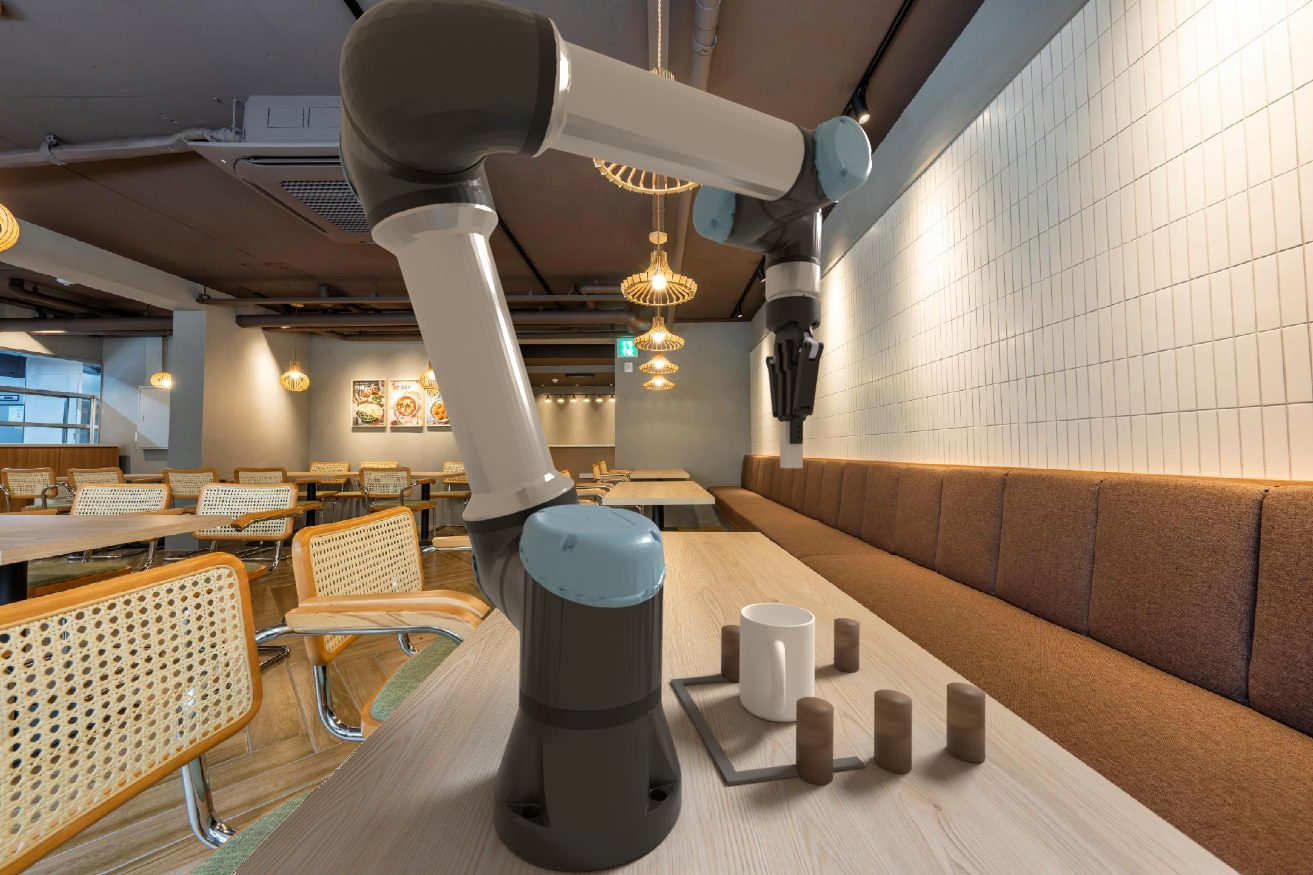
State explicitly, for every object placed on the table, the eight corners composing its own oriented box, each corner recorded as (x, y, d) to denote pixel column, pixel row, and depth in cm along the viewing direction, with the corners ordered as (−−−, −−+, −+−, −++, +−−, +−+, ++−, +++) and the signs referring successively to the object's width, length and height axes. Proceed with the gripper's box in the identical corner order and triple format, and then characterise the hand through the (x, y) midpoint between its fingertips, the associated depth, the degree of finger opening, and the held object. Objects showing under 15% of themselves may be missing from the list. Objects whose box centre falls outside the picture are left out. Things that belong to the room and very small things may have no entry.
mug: (820, 749, 51) (821, 642, 51) (734, 737, 52) (735, 634, 52) (811, 692, 62) (812, 605, 62) (741, 684, 64) (742, 600, 64)
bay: (728, 785, 45) (728, 781, 45) (670, 681, 65) (670, 679, 65) (864, 767, 48) (864, 763, 48) (769, 673, 67) (769, 670, 67)
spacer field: (806, 786, 45) (807, 716, 45) (717, 672, 67) (717, 625, 68) (993, 760, 49) (993, 696, 49) (850, 661, 72) (850, 617, 72)
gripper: (842, 289, 68) (841, 470, 68) (795, 314, 81) (793, 466, 80) (790, 285, 67) (788, 469, 66) (750, 310, 79) (748, 466, 79)
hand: (791, 467), depth 73 cm, fingers closed
